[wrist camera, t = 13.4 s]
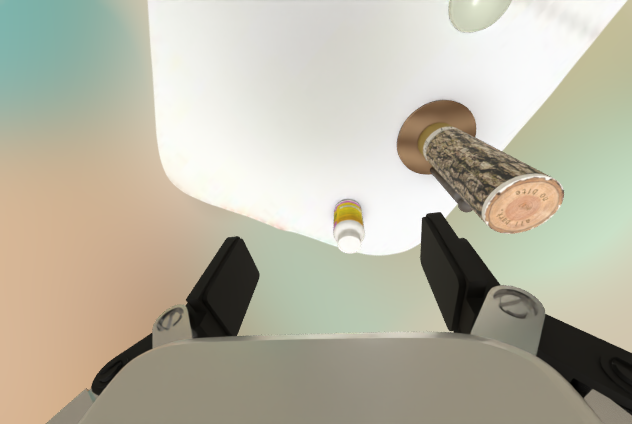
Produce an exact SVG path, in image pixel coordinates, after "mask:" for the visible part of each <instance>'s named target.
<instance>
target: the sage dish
mask: <svg viewBox="0 0 632 424" xmlns="http://www.w3.org/2000/svg"><path fill="white" fill-rule="evenodd" d="M511 1H512V0H450V1H449V17H450V20H451V23H452V24H453V26H454V27H455V28H456V29H457V30H459V31H461V32H465V33H471V32H476V31H479V30H482V29H485V28H487V27H489V26H491V25H492V24H493V23H495V22H496V21H497V20H498V19H499V18H500V17H501V16H502V15H503V14H504V12H505V11H506V10H507V8H508V7H509V5H510V3H511Z"/></svg>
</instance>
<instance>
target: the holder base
mask: <svg viewBox="0 0 632 424" xmlns="http://www.w3.org/2000/svg"><path fill="white" fill-rule="evenodd" d="M435 123H447V124H449V125H451V126H453V127H455V128H457V129H459V130H461V131H463V132H465V133H467V134H469V135H471V136H473V137H475V135H476V123H475V119H474V116H473V114H472V113H471V111H470V110H469V109H468V108H467V107H465V106H464V105H462V104H460V103H457V102H454V101H449V100H439V101H434V102H430V103H428V104H425V105H424V106H422V107H420V108H419V109H417V110H416V111H415V112H413V113H412V114H411V115H410V116H409V117H408V118H407V120H406V121H405V122H404V124H403V126H402V127H401V130H400V132H399V135H398V140H397V150H398V154H399V157H400V159H401V160H402V162H403V163H404V165H405V166H406V167H407V168H409V169H410V170H412V171H414V172H416V173H419V174H433V176H434V177H435V178H436V179H437V180H438V181H439V183H440V184H441V185H442V186H443V187H444V188H445V189H446V191H447V192H448V193H449V194H450V195H451V196H452V198H453V199H454V200H455V201H456V202H457V203H458V207H459V209H460V210H461V211H463V212H471V211H472V210H473V209H472V208H471V207H470V206H469V205H468V204H467V203H466V202H465V201H464V200H463V199H462V198H461V196H460V195H459V194H458V193H457V192H456V191H455V190H454V189H453V188H452V187H451V186H450V185H449V184H448V183H447V181H446V180H445V179H444V178H443V177H442V176H441V175H440V174H439V173H438V172H437V171H436V170H435V169H434V167H433V166H432V165H431V164H430V163H429V162H428V161H427V160H426V159H425V158H424V156H423V155H422V154H421V153H420V152H419V149H418V139H419V137H420V135H421V133H422V132H423V131H424V130H425V129H426V128H427V127H429V126H430V125H432V124H435Z"/></svg>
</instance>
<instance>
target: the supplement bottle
mask: <svg viewBox="0 0 632 424" xmlns="http://www.w3.org/2000/svg"><path fill="white" fill-rule="evenodd" d="M333 235H334V238H335V240H336V241H337V242H338V248H339V249H340V250H341V251H342V252H344V253H355V252H357V251H358V250H359V249H360V248H361V241H362V240H363V239H364V236H365V231H364V224H363V217H362V210H361V207H360V205H359V204H358V203H357V202H355V201H353V200H343V201H341V202H339V203H338V204H337V205H336V207H335V210H334V230H333Z"/></svg>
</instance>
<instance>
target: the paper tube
mask: <svg viewBox="0 0 632 424" xmlns="http://www.w3.org/2000/svg"><path fill="white" fill-rule="evenodd" d="M418 149H419V152H420V153H421V154H422V155H423V156H424V158H425V159H426V160H427V161H428V162H429V163H430V164H431V165H432V166H433V167H434V169H435V170H436V171H437V172H438V173H439V174H440V175H441V176H442V177H443V178H444V179H445V180H446V181H447V183H448V184H449V185H450V186H451V187H452V188H453V189H454V190H455V191H456V192H457V193H458V194H459V195H460V196H461V198H462V199H463V200H464V201H465V202H466V203H467V204H468V205H469V206H470V207H471V208H472V209H473V210H474V212H475V213H476V214H477V215H478V216H479V217H480V218H481V219H482V220H483V221H484V222H485V223H486V224H487V225H488V226H489V227H490V228H491V229H493V230H494V231H497V232H500V233H507V234H512V233H520V232H524V231H527V230H530V229H533V228H535V227H537V226H539V225H541V224H543V223H544V222H546V221H547V220H548V219H549V218H551V217H552V216H553V215H554V214H555V213H556V212H557V210H558V209H559V207H560V206H561V204H562V201H563V198H564V190H563V187H562V186H561V184H560V183H559V182H558V181H557V180H555V179H553V178H552V177H550V176H548V175H546V174H544V173H542V172H540V171H539V170H536V169H535V168H533V167H530V166H529V165H527V164H525V163H523V162H521V161H519V160H517V159H515V158H513V157H512V156H510V155H507V154H506V153H504V152H502V151H500V150H498V149H496V148H494V147H492V146H490V145H488V144H486V143H484V142H483V141H481V140H479V139H477V138H475V137H473V136H471V135H469V134H467V133H465V132H463V131H461V130H459V129H457V128H455V127H453V126H451V125H449V124H447V123H435V124H432V125H430V126H429V127H427V128H426V129H425V130H424V131H423V132H422V133H421V135H420V137H419V139H418Z"/></svg>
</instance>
